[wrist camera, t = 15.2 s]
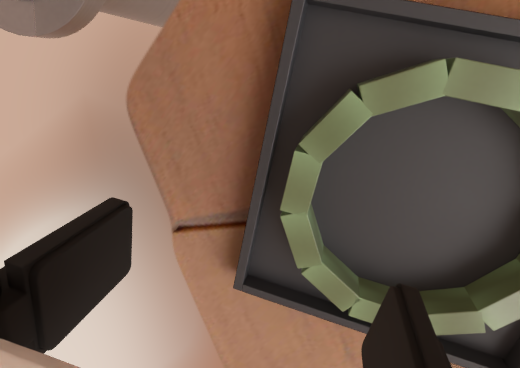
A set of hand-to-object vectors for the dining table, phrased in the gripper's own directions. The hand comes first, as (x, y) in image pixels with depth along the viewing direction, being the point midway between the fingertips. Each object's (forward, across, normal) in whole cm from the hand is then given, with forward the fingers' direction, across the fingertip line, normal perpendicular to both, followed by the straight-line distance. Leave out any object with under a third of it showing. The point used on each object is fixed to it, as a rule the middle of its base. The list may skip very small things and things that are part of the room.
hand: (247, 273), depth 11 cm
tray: (+14, -9, +1) cm, 17 cm away
